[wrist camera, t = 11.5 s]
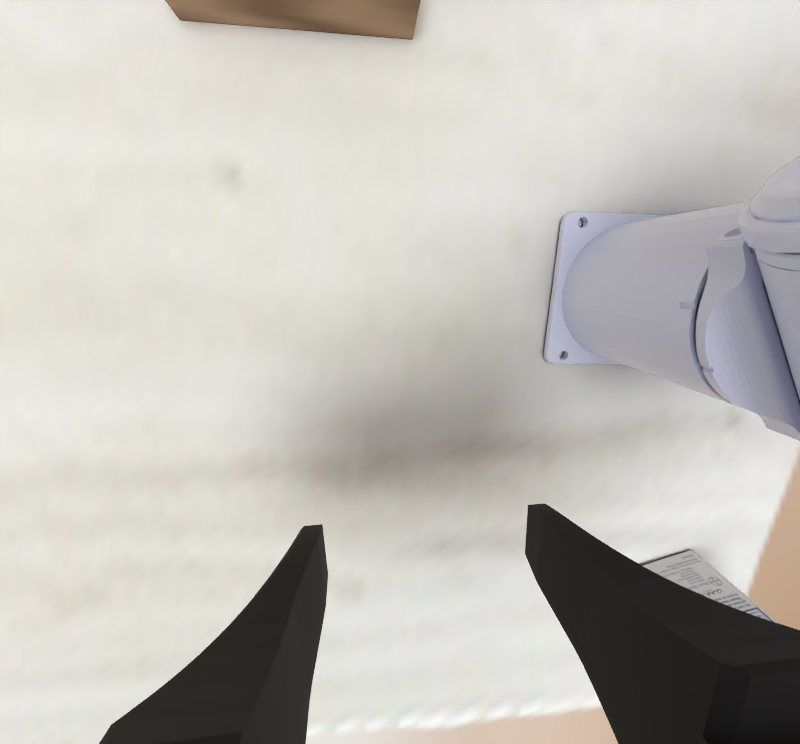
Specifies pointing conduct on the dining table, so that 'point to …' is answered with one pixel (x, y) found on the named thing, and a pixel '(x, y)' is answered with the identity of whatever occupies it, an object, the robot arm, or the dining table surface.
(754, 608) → the medicine box
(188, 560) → the dining table surface
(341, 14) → the walnut block
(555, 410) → the dining table surface
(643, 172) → the dining table surface
